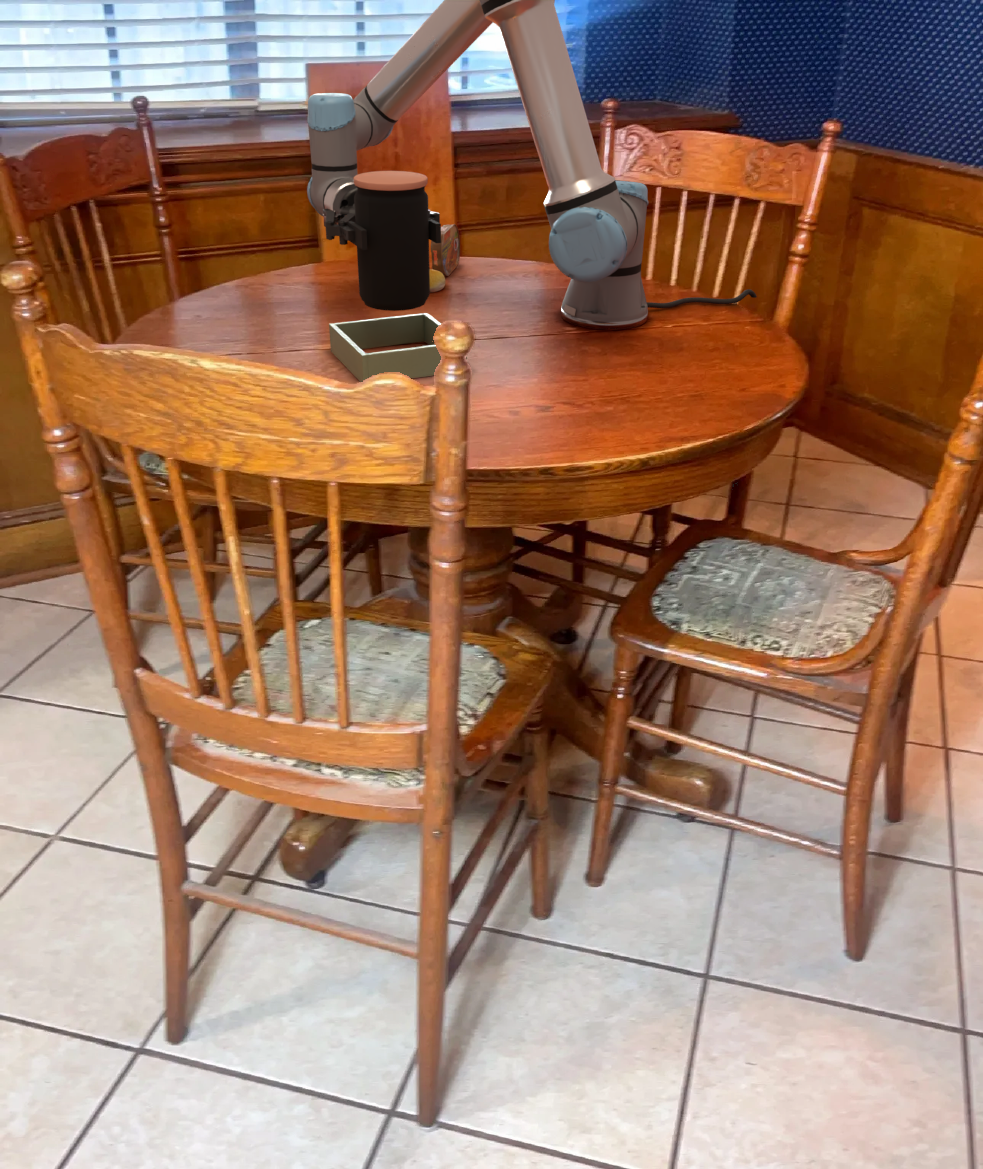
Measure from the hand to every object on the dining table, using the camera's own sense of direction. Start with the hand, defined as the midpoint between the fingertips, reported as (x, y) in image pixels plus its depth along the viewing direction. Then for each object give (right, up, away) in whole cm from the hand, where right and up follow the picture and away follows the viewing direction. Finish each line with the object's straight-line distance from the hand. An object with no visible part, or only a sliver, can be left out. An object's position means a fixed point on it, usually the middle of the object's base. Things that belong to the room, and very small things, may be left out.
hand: (402, 236), depth 149 cm
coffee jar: (-2, -7, +9) cm, 11 cm away
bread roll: (0, +7, +50) cm, 50 cm away
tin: (+4, +13, +61) cm, 62 cm away
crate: (-2, -15, +13) cm, 20 cm away
